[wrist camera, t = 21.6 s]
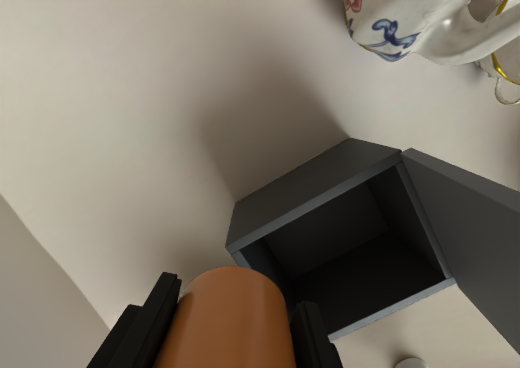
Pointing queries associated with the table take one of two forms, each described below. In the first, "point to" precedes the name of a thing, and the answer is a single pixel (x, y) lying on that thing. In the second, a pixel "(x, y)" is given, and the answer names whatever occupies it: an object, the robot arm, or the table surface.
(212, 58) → the table surface
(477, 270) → the lid
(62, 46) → the table surface
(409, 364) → the chalice
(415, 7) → the chinaware
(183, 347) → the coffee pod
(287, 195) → the square tray box
